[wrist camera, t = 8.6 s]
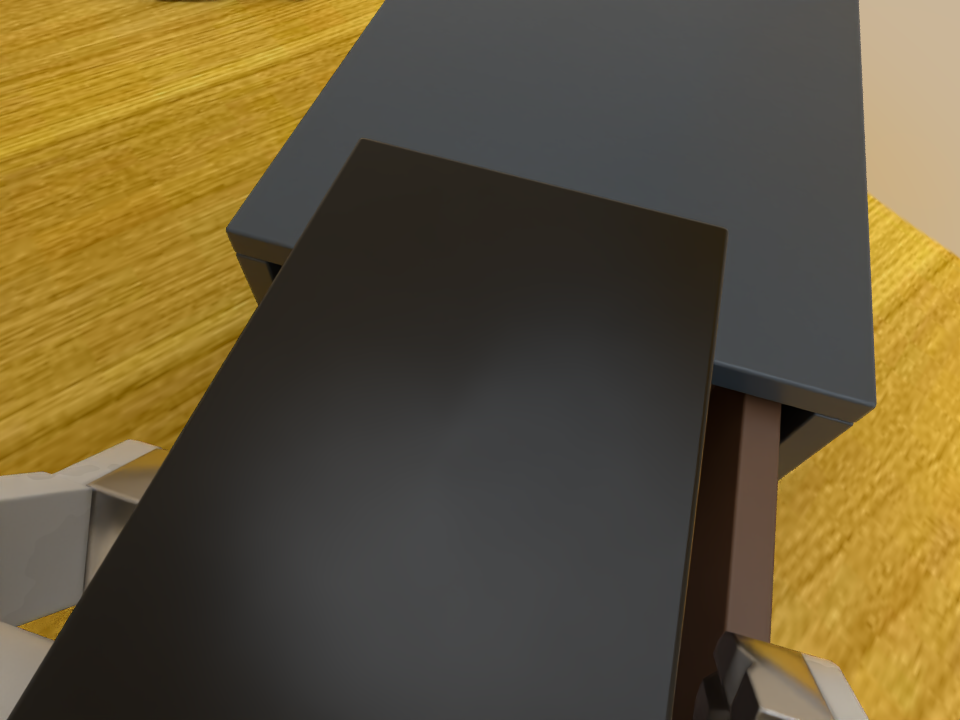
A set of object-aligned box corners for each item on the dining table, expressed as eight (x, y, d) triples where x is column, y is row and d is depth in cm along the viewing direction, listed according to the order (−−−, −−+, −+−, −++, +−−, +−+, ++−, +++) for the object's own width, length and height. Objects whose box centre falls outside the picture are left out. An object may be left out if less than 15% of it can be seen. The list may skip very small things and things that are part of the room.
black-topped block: (318, 766, 14) (-107, 893, 3) (412, 507, 17) (359, 133, 6) (480, 825, 13) (620, 1197, 3) (546, 548, 17) (731, 225, 6)
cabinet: (710, 531, 19) (878, 407, 12) (302, 408, 20) (222, 229, 13) (745, 190, 27) (859, -13, 20) (448, 118, 28) (450, -96, 21)
